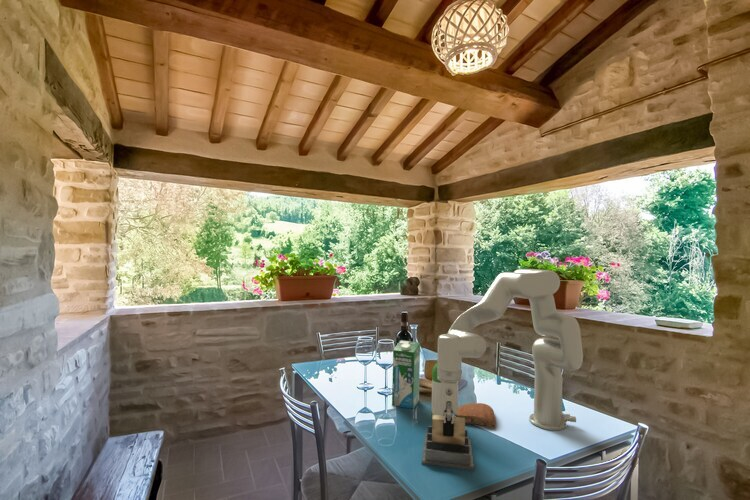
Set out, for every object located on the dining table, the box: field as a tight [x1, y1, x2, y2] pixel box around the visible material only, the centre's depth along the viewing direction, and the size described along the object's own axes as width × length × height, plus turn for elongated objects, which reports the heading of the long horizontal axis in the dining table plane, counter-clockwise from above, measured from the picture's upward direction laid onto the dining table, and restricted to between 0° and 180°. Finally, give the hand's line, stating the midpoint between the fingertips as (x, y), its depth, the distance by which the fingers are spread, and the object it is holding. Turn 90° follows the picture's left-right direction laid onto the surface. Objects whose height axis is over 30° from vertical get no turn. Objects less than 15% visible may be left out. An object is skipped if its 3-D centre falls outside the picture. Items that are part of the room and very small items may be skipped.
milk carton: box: [391, 339, 421, 410], centre depth 157 cm, size 9×9×25 cm
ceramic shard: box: [454, 402, 496, 429], centre depth 144 cm, size 15×6×15 cm
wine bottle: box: [430, 362, 443, 419], centre depth 141 cm, size 8×8×30 cm
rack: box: [421, 425, 475, 471], centre depth 119 cm, size 15×17×4 cm
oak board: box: [431, 415, 466, 445], centre depth 119 cm, size 10×3×10 cm, turn 80°
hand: (448, 428), depth 119 cm, fingers open, 9 cm apart
